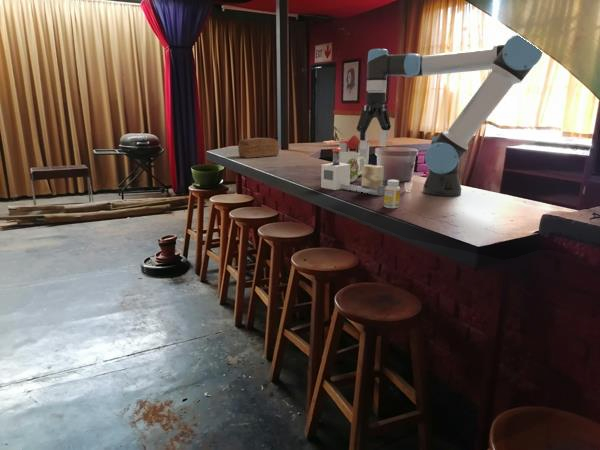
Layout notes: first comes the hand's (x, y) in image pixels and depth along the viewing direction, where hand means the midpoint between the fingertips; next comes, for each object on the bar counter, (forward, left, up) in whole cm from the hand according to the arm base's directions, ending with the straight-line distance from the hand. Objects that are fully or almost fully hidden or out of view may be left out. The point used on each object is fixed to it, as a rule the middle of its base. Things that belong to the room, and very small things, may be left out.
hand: (373, 147), depth 173 cm
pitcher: (+24, -17, -19) cm, 34 cm away
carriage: (0, 0, -16) cm, 16 cm away
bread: (+122, -47, -19) cm, 132 cm away
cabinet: (+19, 0, -19) cm, 26 cm away
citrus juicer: (+33, -32, -19) cm, 49 cm away
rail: (+5, 0, -19) cm, 19 cm away
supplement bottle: (-18, +14, -19) cm, 30 cm away
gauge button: (+19, 0, -9) cm, 21 cm away
